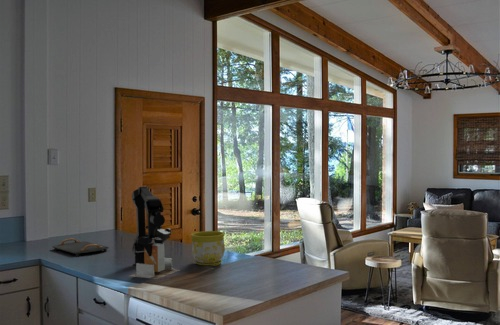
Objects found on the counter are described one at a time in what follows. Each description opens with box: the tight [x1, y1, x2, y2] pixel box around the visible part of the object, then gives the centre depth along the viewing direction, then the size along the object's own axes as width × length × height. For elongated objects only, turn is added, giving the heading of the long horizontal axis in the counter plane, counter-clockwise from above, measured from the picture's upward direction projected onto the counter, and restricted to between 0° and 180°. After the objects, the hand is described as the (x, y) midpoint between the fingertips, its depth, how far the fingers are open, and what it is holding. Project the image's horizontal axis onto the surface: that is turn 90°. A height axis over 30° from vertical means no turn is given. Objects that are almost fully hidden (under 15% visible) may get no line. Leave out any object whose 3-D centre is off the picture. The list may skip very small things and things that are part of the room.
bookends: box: [133, 257, 176, 279], centre depth 262 cm, size 20×10×6 cm, turn 152°
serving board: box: [51, 238, 110, 257], centre depth 331 cm, size 39×23×6 cm, turn 44°
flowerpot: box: [190, 230, 226, 267], centre depth 282 cm, size 18×18×16 cm
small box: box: [144, 242, 166, 272], centre depth 262 cm, size 8×6×13 cm
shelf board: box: [129, 268, 181, 280], centre depth 262 cm, size 20×17×1 cm
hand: (154, 255), depth 262 cm, fingers closed on small box, 6 cm apart
